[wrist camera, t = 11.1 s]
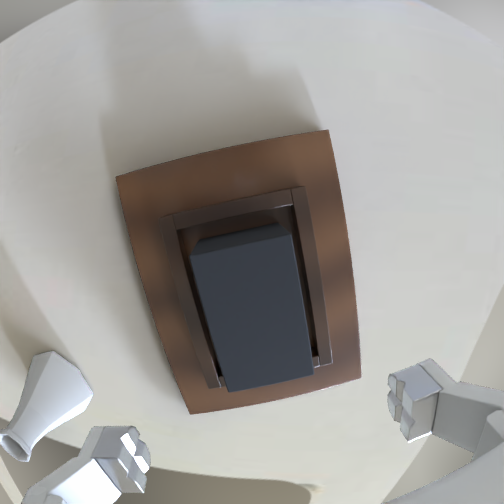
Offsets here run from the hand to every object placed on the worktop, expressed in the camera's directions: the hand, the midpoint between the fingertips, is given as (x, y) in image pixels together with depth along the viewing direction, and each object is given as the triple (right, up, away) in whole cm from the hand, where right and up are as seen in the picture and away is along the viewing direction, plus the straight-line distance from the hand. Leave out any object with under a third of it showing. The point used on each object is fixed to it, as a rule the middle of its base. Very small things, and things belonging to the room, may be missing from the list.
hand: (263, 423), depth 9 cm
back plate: (0, +3, +15) cm, 15 cm away
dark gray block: (0, +2, +14) cm, 14 cm away
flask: (-19, -7, +16) cm, 26 cm away
